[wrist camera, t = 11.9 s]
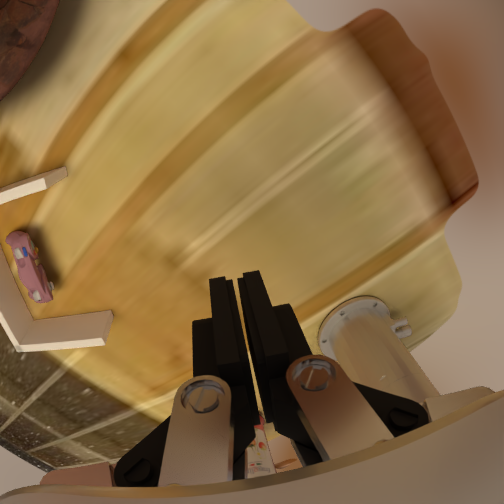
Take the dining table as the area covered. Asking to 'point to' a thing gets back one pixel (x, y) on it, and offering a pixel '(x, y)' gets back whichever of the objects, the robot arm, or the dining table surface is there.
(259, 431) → the red glass bottle
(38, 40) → the pottery vessel
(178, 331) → the dining table surface
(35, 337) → the bin
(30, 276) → the video game controller
